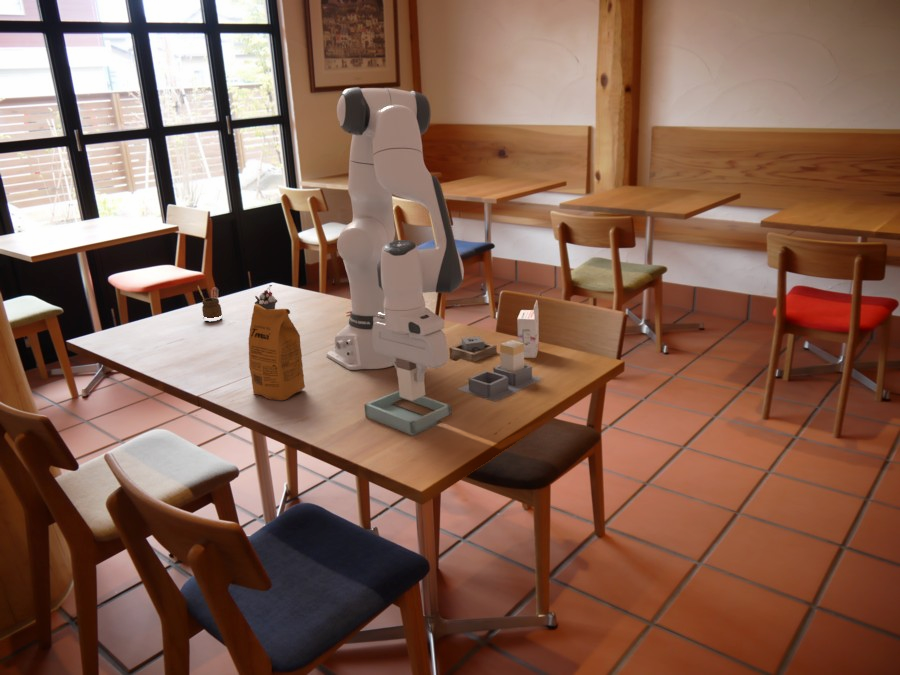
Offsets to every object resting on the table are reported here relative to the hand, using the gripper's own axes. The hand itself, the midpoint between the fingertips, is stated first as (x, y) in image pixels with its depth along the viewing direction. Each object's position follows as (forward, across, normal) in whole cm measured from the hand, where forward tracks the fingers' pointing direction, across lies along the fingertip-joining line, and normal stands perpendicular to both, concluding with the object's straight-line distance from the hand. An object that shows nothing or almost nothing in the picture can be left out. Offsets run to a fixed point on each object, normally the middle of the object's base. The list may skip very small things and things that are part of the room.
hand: (410, 378), depth 162 cm
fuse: (+9, +5, +29) cm, 31 cm away
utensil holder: (+7, -109, +14) cm, 110 cm away
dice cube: (+10, -15, +37) cm, 41 cm away
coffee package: (+8, -37, -10) cm, 40 cm away
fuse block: (+10, +5, +25) cm, 27 cm away
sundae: (+8, -81, +17) cm, 83 cm away
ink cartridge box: (+10, -4, +47) cm, 48 cm away
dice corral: (+9, -15, +37) cm, 41 cm away
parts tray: (+9, -1, -1) cm, 9 cm away
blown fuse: (+4, 0, 0) cm, 4 cm away
